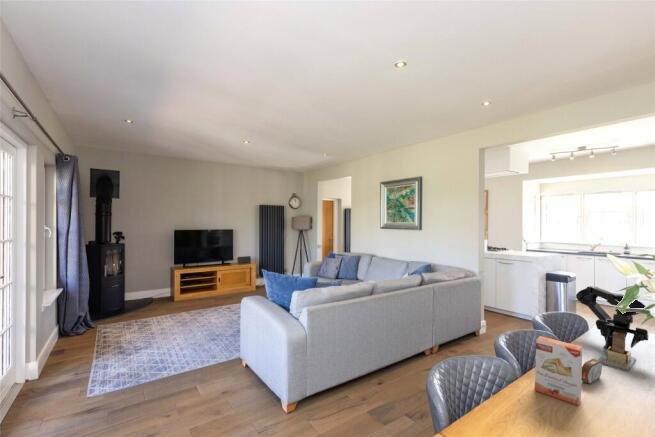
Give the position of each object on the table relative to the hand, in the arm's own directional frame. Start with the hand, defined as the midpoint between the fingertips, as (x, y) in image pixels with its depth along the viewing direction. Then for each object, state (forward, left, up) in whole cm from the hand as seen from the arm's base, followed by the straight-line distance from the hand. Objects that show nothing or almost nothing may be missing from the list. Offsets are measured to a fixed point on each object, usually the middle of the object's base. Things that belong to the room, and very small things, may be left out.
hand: (618, 344), depth 151 cm
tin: (+34, -3, -9) cm, 35 cm away
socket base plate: (0, 0, -8) cm, 9 cm away
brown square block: (-1, 0, -7) cm, 8 cm away
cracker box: (+60, -8, -9) cm, 61 cm away
